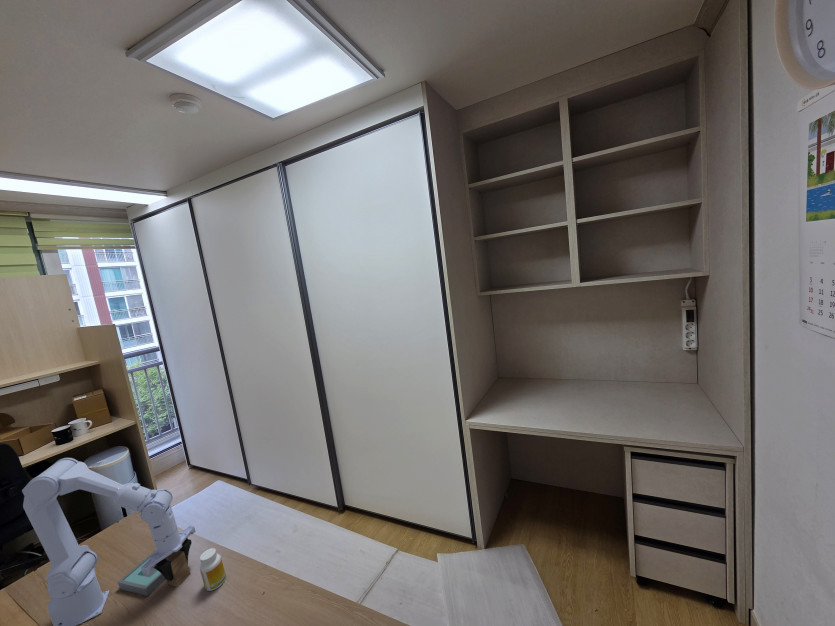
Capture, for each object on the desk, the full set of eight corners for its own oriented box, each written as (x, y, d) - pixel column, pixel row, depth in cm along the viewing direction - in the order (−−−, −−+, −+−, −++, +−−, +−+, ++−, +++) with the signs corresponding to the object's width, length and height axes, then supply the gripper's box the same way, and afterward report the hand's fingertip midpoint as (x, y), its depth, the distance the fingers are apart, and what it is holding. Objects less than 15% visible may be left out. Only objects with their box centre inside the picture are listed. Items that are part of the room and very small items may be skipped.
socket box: (147, 596, 95) (145, 589, 95) (119, 589, 99) (117, 582, 99) (187, 559, 107) (185, 552, 106) (160, 554, 110) (158, 547, 110)
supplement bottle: (230, 573, 99) (222, 545, 98) (218, 591, 94) (209, 562, 92) (214, 574, 100) (206, 546, 98) (200, 592, 94) (192, 562, 93)
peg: (177, 586, 97) (170, 563, 96) (168, 584, 98) (160, 561, 97) (190, 573, 101) (183, 551, 100) (181, 571, 102) (174, 549, 101)
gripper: (149, 556, 89) (162, 598, 91) (198, 515, 103) (208, 552, 105) (131, 553, 91) (144, 594, 93) (181, 512, 105) (192, 549, 107)
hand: (177, 572), depth 99 cm, fingers closed on peg, 4 cm apart
